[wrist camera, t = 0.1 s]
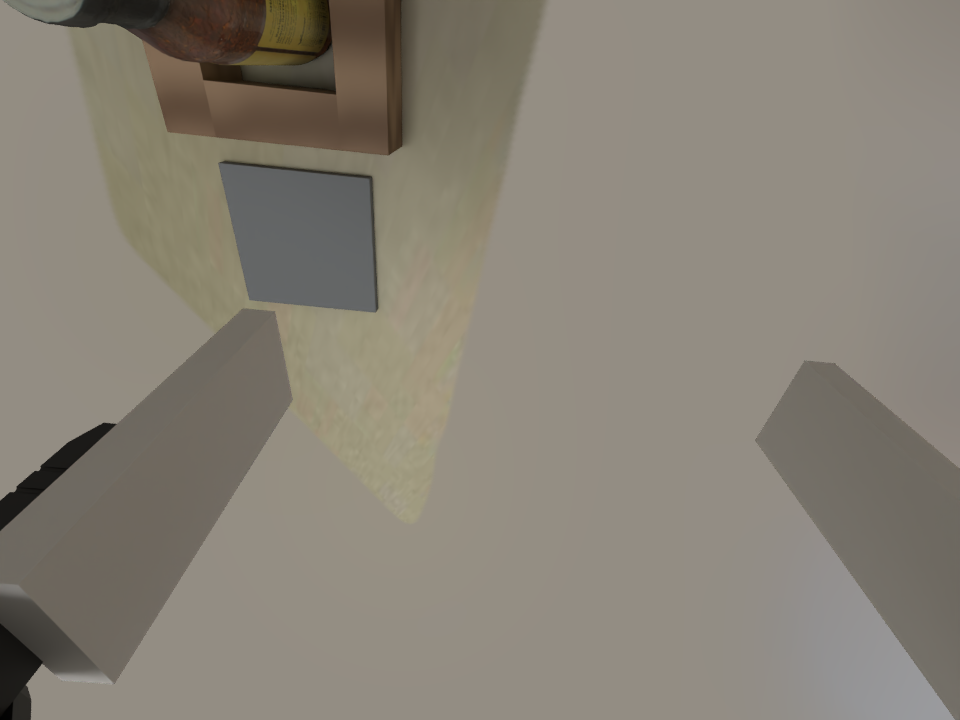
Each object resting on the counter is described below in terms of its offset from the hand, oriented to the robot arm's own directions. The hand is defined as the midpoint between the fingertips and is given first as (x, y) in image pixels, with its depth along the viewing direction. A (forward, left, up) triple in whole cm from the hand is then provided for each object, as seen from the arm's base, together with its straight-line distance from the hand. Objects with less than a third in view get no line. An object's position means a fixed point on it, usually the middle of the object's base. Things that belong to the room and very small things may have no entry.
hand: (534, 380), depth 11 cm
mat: (+7, -17, -28) cm, 33 cm away
